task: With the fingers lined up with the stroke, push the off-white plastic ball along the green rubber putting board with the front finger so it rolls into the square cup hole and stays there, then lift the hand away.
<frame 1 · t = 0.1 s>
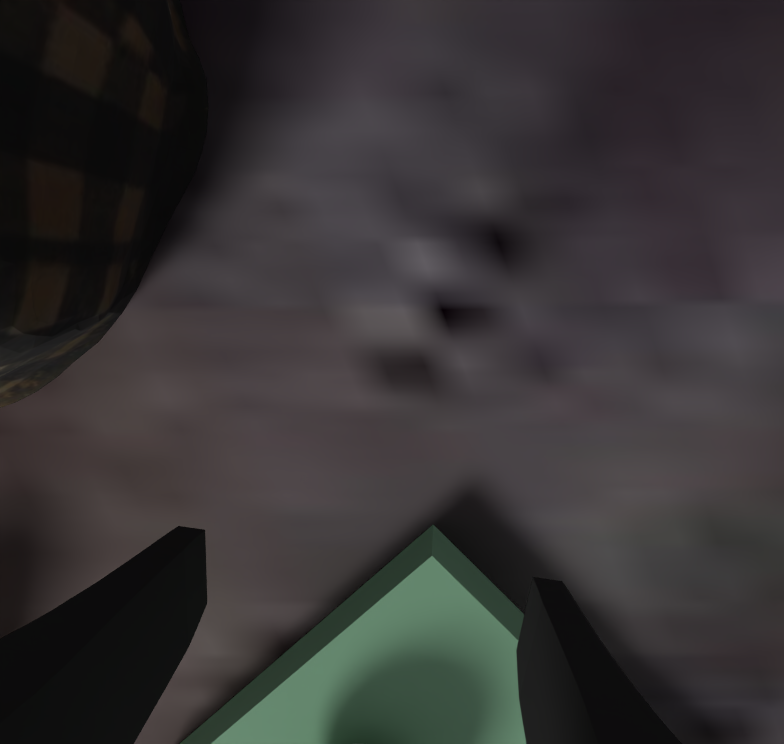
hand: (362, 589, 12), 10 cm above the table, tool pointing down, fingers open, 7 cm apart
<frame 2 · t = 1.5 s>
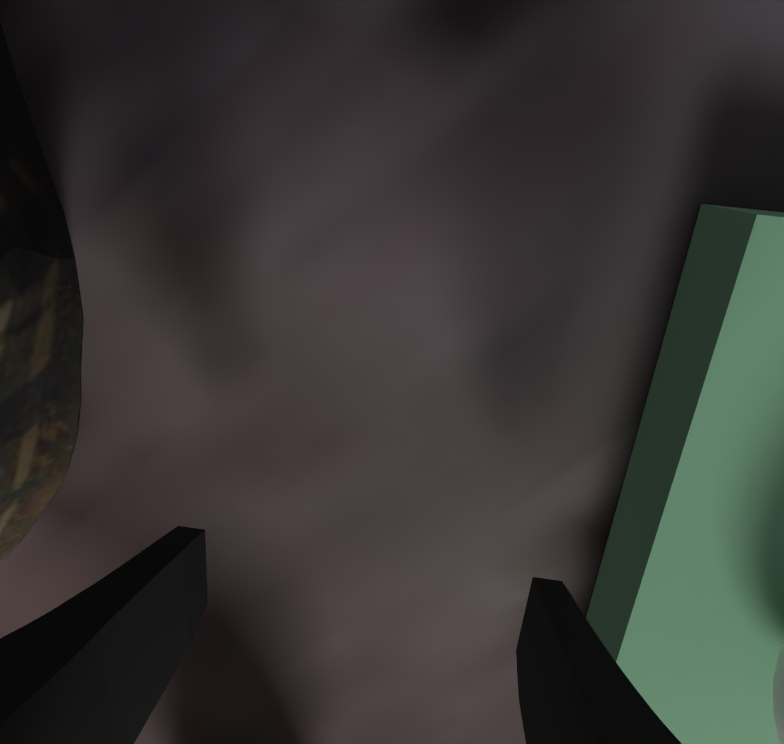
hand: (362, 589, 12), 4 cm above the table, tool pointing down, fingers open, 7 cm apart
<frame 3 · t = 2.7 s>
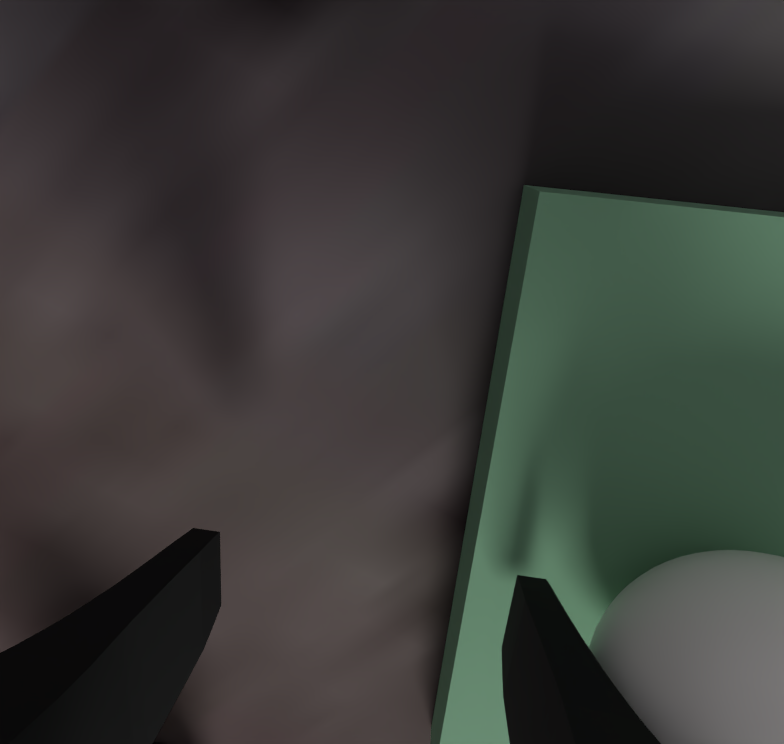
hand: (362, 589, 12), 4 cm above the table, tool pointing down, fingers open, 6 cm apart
white ball: (758, 725, 10), point 5 cm above the table, touching gripper, putting board
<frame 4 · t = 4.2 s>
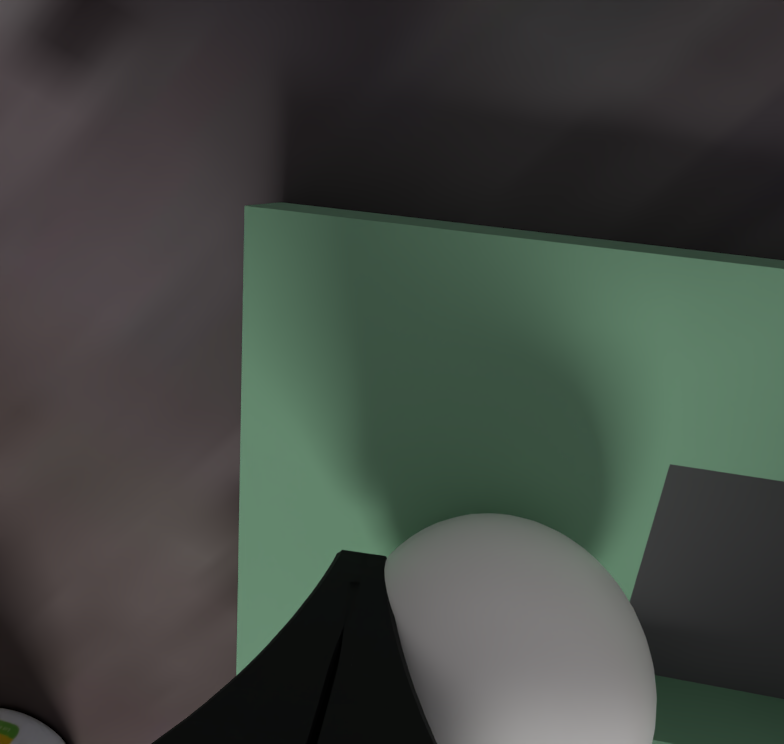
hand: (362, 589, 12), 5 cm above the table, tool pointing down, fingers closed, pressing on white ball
white ball: (493, 665, 12), point 5 cm above the table, tilted 31°, touching gripper, putting board
putting board: (641, 553, 16), on the table
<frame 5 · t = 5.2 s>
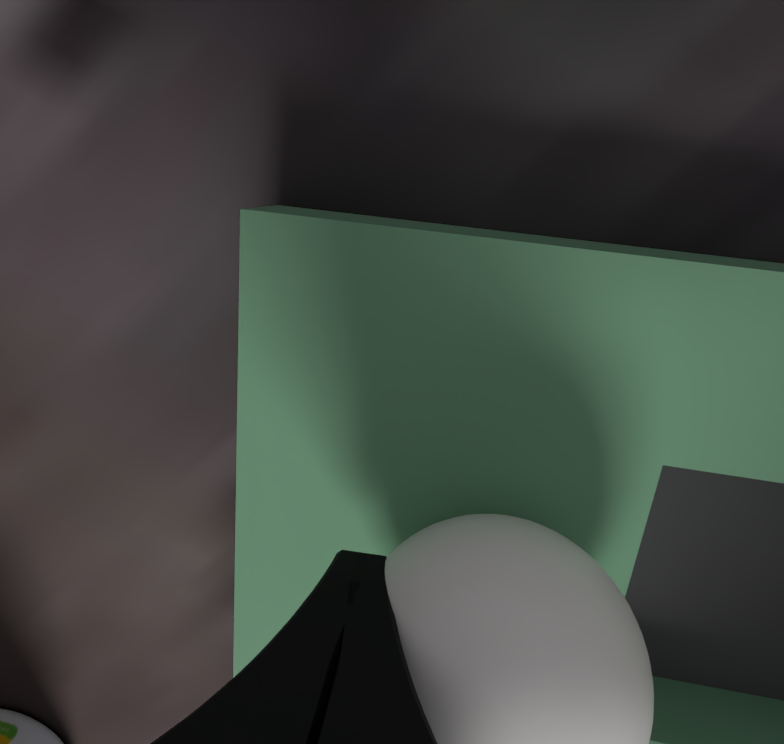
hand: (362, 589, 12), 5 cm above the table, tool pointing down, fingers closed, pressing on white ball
white ball: (491, 665, 12), point 5 cm above the table, tilted 33°, touching gripper, putting board
putting board: (636, 554, 16), on the table
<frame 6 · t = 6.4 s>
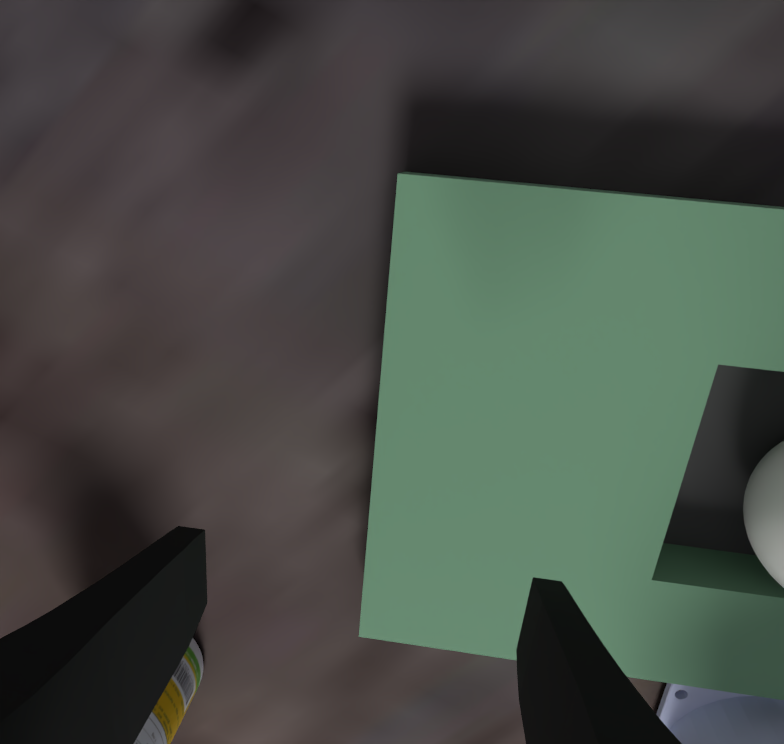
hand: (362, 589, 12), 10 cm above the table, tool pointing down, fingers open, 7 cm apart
putting board: (685, 447, 21), on the table
supplement bottle: (154, 649, 27), on the table
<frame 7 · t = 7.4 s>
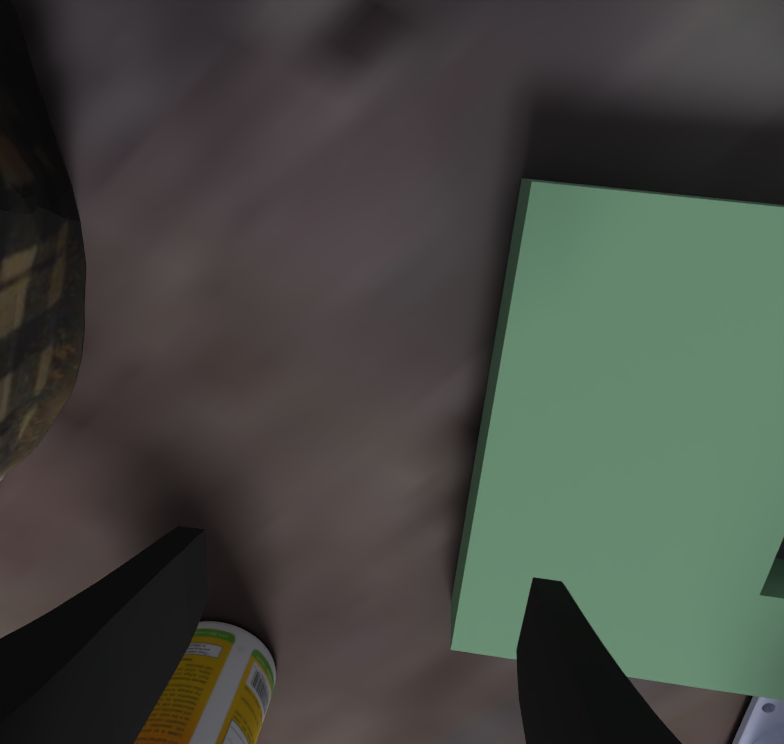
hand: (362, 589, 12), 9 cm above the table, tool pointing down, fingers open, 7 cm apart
supplement bottle: (224, 658, 27), on the table
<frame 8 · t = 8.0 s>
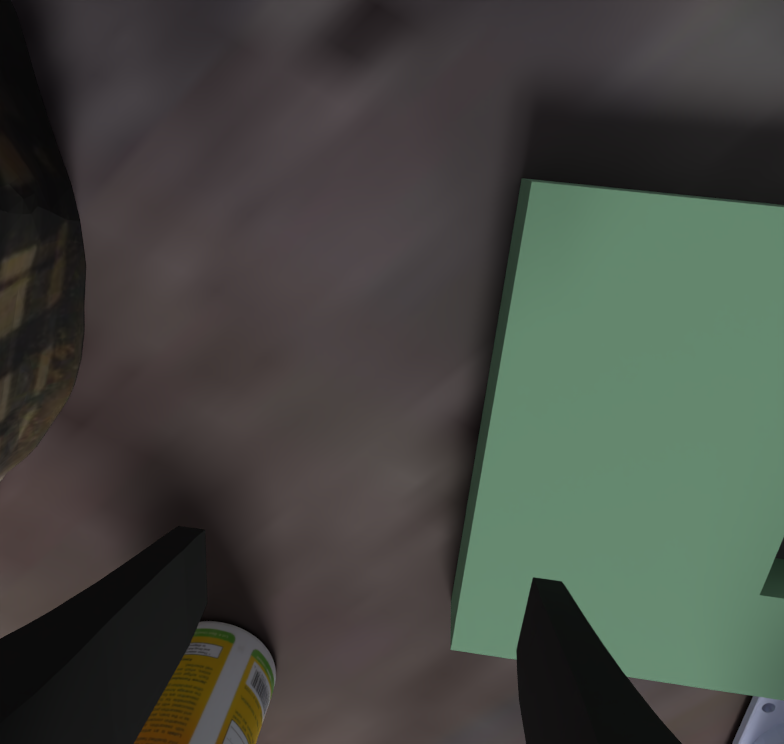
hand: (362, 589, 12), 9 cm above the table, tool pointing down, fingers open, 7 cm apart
supplement bottle: (224, 658, 27), on the table
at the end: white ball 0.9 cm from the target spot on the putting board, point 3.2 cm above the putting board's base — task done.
